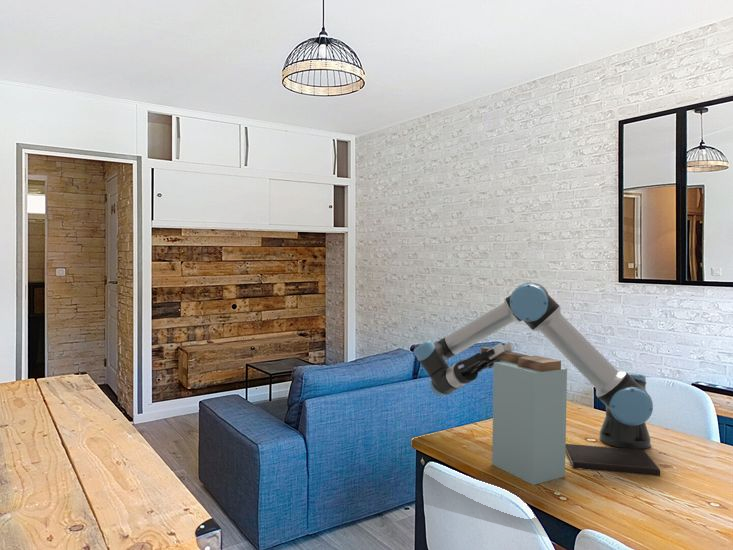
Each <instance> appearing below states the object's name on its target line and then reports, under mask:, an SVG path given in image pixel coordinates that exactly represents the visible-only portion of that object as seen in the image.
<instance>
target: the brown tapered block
mask: <svg viewBox="0 0 733 550" xmlns="http://www.w3.org/2000/svg"><path fill="white" fill-rule="evenodd" d="M491 348H492V347H489V346H483V347H480V354H481V353H483V352H487V350H489V349H491ZM494 358H495V359H499V360H501V361H507V362H512V363H516V364H518V366H520V367H524V368H528V369H533V370H537V371H541V372H546V371H554V370H561V368H562V360H559V359H555V358H549V357H546V356H541V355H528V354H522V353H517V352H514V351H512V352H509V351H504V352H503V353H501V354H499V355H498V356H496V357H494Z"/></svg>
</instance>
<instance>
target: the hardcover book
mask: <svg viewBox="0 0 733 550" xmlns="http://www.w3.org/2000/svg"><path fill="white" fill-rule="evenodd" d="M565 453H566V454H567V456H568V459H569V461H570V462H571V465H572V469H577V468H582V469H581V470H588V469H590V470H591V471H601V472H611V473H612V472H613V473H624V474H635V475H636V474H637V475H647V476H656V477H657V476H659V477H660V476H661V469H660V468H659V466H657V464H656V463H655V462H654V461H653V459H652V458H651V457H650V456H649V455H648V454H647V452H646V451H645V450H644V449H626V448H620V447H614V446H612V447H611V446H610V447H609V446H599V445H598V446H596V445H589V444H588V445H586V444H574V443H573V444H572V443H566V450H565Z"/></svg>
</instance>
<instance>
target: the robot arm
mask: <svg viewBox="0 0 733 550" xmlns="http://www.w3.org/2000/svg"><path fill="white" fill-rule="evenodd" d="M515 322H518V323H520V322H524V323H525V324H526V325H527V327H528V328H530V329H531V330H532V331H533V332H540V333H541V334H542V336H544V337H545V338H546V339H547V340H548V341H549V342H550V343H551V344H552V345H553V346H554V348H555V349H557V350H558V351H559V352H560V353H561V354H562V355H563V357H565V358H566V359H567V360H568V361H569V362H570V363H571V365H573V367H574V368H575V369H576V370H577V371H578V372H579V373H580V374H581V375H582V376H583V377H584V378H585V379H586V381H588V382H589V383H590V384H591V385H592V386H593V387H594V388H595V390H596V391H595V395H596V397H597V398H598V399H599V400H600V402H602V403H603V404H604V405H605V417H604V420H603V423H602V425H601V428H600V429H599V430H600V431H599V440H600V441H601V442H603V443H604V444H606V445H610V446H612V447H614V448H625V449H638V450H644V449H645V450H646V449H648V448H650V447H651V437H650V433H649V430H648V426H647V423H646V422H647V421H648V420H649V419H650V418H651V416H652V415H653V412H654V410H653V409H654V405H653V404H654V403H653V400H652V397H651V396H650V394H649V393H648V392H647V390H646V389H647V387H646V385H647V381H646V380H647V379H646V376H645V375H644V374H643V373H642V374H641V373H637V372H635V373H633V372H627V371H626V370H618V369H617V368H616V367H614V366H613V364H612V363H611V362H610V361H609V360H608V359H607V358H606V357H605V356H604V355H603V354H602V353H600V351H599V350H598V349H596V347H595V346H594V345H592V343H591V342H590V341H589V340H588V339H586V337H585V336H584V335H582V333H581V332H580V331H579V330H578V329H577V328H576V327H575V326H574V325H573V324H572V323H571V322H570V321H568V319H567V318H565V316H564V315H563V314H562V313H561V305H560V304H558V302H557V301H556V300H555V299H554V298H552V296H551V295H549V293H548V291H547V289H546V288H545V287H544V286H543V285H542V284H539V283H537V282H526V283H523V284H520V285H518V286H517V287H516V288H515V289H514V290H513V291H512V292H511V294H510V295H509V296H508V297H506V298H504V301H503V303H501V304H500V305H497V306H496V307H493V308H492V309H490V310H489V311H487V312H485V313H484V314H482V315H480V316H478V317H477V318H475V319H473V320H472V321H470V322H468V323H467V324H464V326H462V327H460V328H458V329H456V330H455V331H453V332H451V333H450V334H447V335H446V336H444V337H443V338H441V339H439V340H438V341H435V342H434V343H433V341H432V340H430V339H428V340H426V341H424V342H422V343H421V344H420V345H418V346H417V347H415V348H414V350H413V353H414V355H415V357H416V358H417V361H418V362H419V364H420V365H421V366H422V367H423V368H424V370H425V371H426V373H427V374H428V376H429V378H430V379H431V380H430V382H429V386H430V390H431V392H432V393H433V394H434V395H435V396H438V397H446V396H447V395H450V394H452V393H454V392H455V391H457V390H458V389H463V387H464V386H465V385H468V384H469V383H471V382H473V381H474V380H476V379H477V377H478V375H479V373H481V372H482V371H483V370H485V369H486V368H488V369H492V368H493V367H494V362H502V360H499V359H495V358H494V357H496V356H498V355H499V354H501V353H503V352H504V351H509V352H514V348H513V346H512V343H511V342H509V341H508V342H507V343H505V344H503V343H502V342H499V343H497V344H495V346H492V347H490V348H491V349H489V350H487V352H483V353H481V352H478V353H475V354H473V355H472V356H469V358H463V359H461V360H459V361H458V362H455V363H454V364H453V365H451V366H449V365H448V363H447V360H449V359H451V358H452V357H454V356H456V355H457V354H460V353H461V352H463V351H465V350H467V349H468V348H470V347H472V346H473V345H474V346H475V344H477V343H479V342H481V341H483V340H485V339H486V338H488V337H490V336H491V335H493V334H495V333H496V332H498V331H501V329H505V328H506V327H508V326H510V325H511V324H513V323H515Z"/></svg>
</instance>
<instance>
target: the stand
mask: <svg viewBox="0 0 733 550" xmlns="http://www.w3.org/2000/svg"><path fill="white" fill-rule="evenodd" d="M492 384H493V385H492V386H493V387H492V388H493V389H492V391H493V392H492V393H493V394H492V395H493V397H492V398H493V399H492V449H491V450H492V454H491V456H492V457H491V459H492V460H491V463H492V466H494V467H496V468H499V469H500V470H502V471H504V472H507V473H508V474H511V475H512V476H515V477H517V478H519V479H520V480H523V481H525V482H526V483H529V484H531V485H533V486H534V485H535V486H536V485H539V484H543V483H546V482H550V481H554V480H557V479H561V478H565V477H566V444H567V443H566V441H567V439H566V437H567V391H568V390H567V388H568V385H567V384H568V368H565V367H561V370H554V371H546V372H541V371H537V370H533V369H528V368H524V367H520V366H518V364H516V363H512V362H507V361H503V360H501V361H500V362H494V366H493V383H492Z"/></svg>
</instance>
